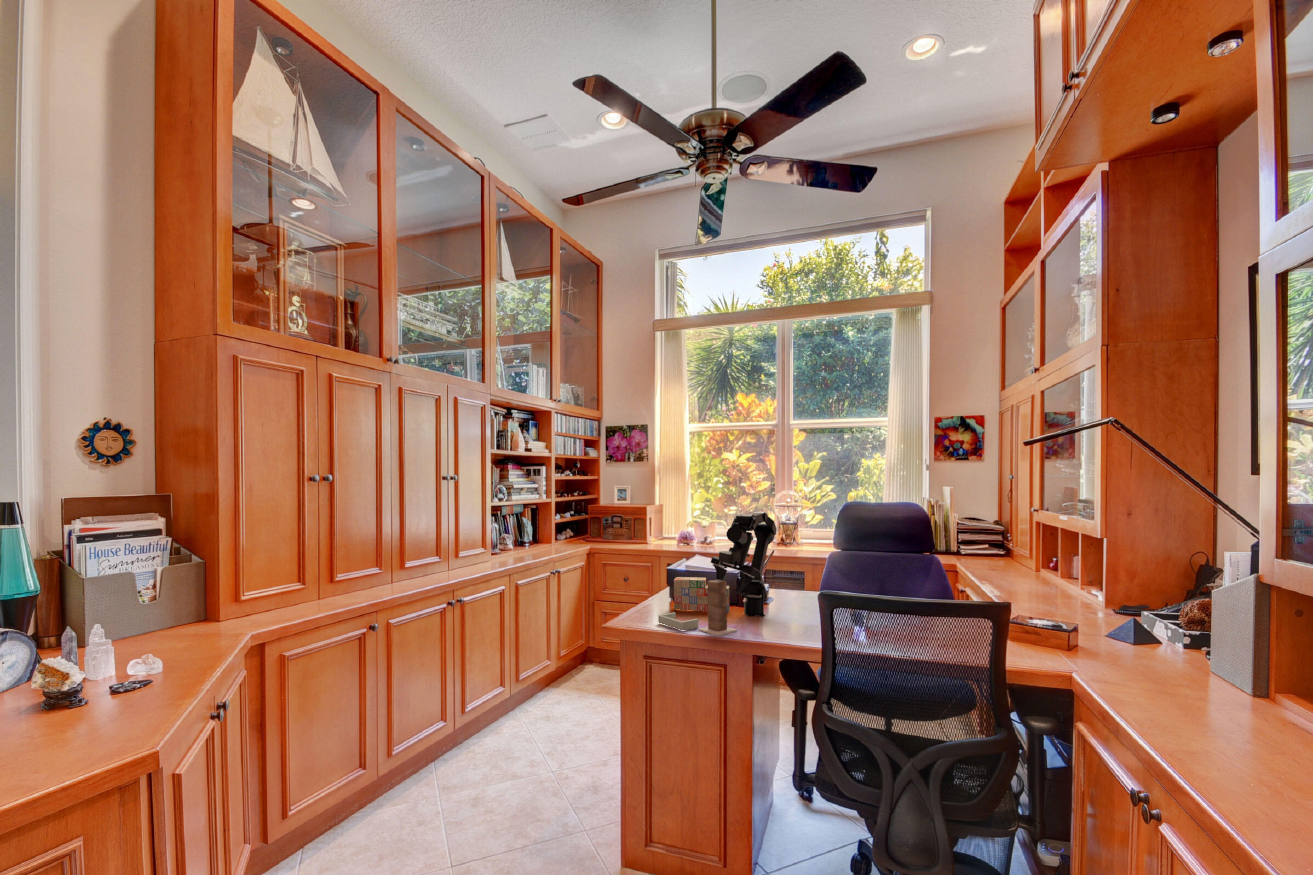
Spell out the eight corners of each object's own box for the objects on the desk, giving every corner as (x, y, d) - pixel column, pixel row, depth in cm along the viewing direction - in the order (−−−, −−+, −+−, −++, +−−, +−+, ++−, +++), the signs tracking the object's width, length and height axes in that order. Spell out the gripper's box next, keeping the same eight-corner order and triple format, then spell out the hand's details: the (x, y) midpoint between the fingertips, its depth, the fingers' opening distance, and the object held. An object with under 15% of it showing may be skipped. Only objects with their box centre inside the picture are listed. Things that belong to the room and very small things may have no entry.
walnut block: (717, 626, 196) (717, 579, 197) (727, 629, 192) (726, 581, 193) (708, 628, 193) (707, 580, 194) (717, 631, 190) (717, 582, 191)
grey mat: (717, 626, 199) (717, 624, 199) (736, 631, 192) (736, 629, 192) (698, 630, 193) (698, 628, 193) (717, 636, 186) (717, 634, 186)
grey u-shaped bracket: (674, 620, 207) (674, 612, 207) (698, 627, 197) (698, 618, 197) (658, 624, 202) (658, 615, 202) (682, 631, 192) (682, 622, 192)
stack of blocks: (729, 609, 224) (729, 578, 225) (728, 613, 218) (728, 580, 219) (676, 607, 228) (676, 576, 229) (673, 611, 222) (673, 579, 223)
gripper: (708, 536, 208) (694, 577, 204) (748, 546, 194) (734, 591, 191) (726, 545, 215) (713, 585, 211) (766, 556, 201) (752, 599, 197)
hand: (727, 590), depth 202 cm, fingers open, 9 cm apart
